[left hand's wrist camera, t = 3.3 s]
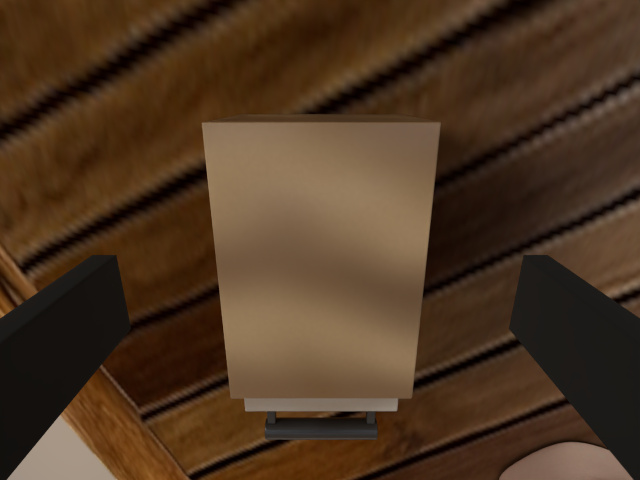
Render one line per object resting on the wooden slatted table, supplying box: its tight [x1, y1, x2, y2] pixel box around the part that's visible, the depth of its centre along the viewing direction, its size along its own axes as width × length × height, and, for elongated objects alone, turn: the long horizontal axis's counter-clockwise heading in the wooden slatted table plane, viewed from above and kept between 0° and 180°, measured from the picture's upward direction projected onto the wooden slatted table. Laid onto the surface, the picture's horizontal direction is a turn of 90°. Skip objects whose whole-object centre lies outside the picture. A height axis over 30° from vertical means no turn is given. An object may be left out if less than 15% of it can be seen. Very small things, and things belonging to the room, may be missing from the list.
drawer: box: [244, 398, 398, 440], centre depth 27 cm, size 21×10×7 cm, turn 0°
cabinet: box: [202, 114, 441, 398], centre depth 25 cm, size 16×11×9 cm
